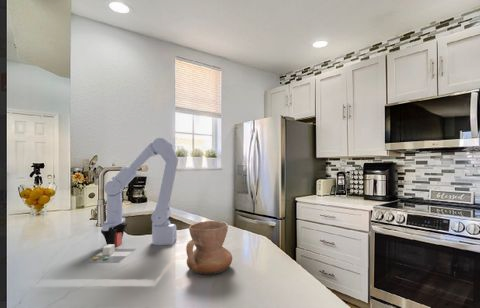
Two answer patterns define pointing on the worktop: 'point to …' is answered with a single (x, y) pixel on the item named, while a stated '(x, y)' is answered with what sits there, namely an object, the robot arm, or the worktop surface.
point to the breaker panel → (110, 256)
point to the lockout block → (118, 238)
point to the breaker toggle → (109, 249)
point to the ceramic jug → (208, 248)
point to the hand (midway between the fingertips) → (114, 244)
